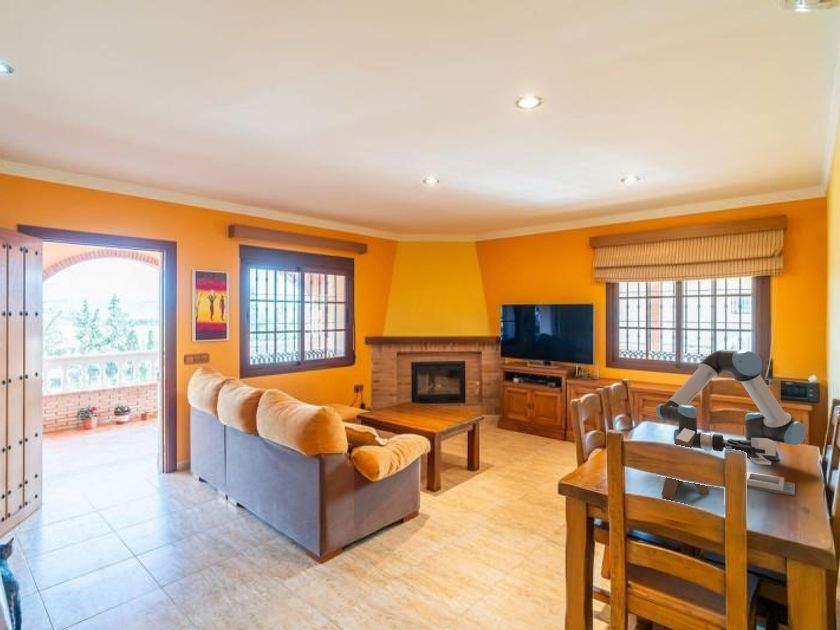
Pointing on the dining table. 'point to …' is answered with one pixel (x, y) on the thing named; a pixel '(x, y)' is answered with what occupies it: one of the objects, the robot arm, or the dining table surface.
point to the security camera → (763, 444)
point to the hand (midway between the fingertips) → (775, 450)
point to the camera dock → (770, 483)
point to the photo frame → (674, 485)
